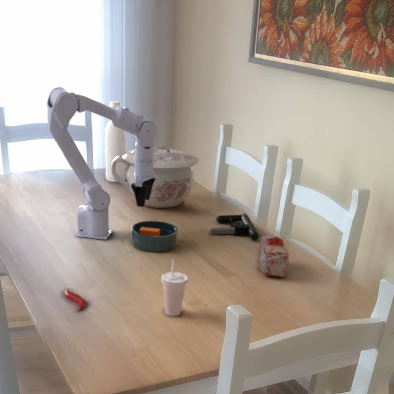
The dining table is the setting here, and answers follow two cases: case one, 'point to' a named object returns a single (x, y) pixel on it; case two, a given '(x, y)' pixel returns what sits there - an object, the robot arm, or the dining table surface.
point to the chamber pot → (162, 175)
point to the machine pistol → (236, 226)
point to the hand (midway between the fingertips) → (143, 202)
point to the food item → (273, 256)
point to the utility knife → (149, 231)
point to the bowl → (154, 243)
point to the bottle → (114, 148)
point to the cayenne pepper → (76, 299)
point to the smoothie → (174, 291)
